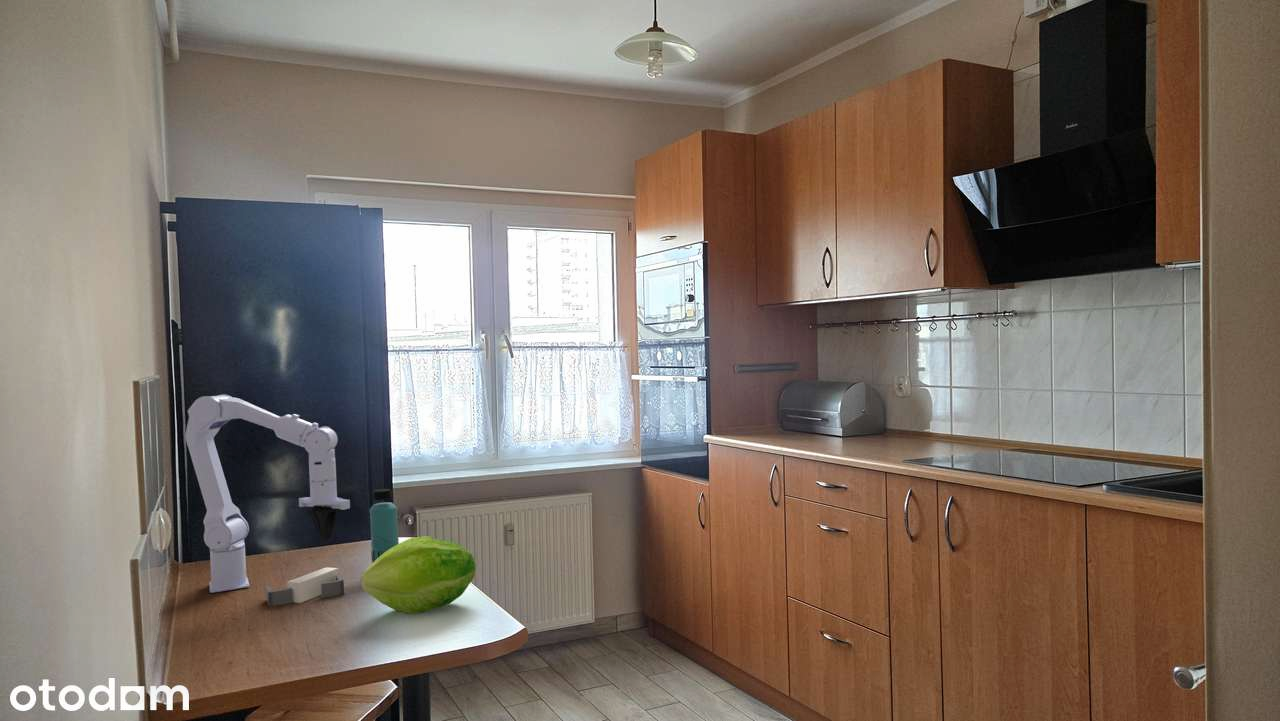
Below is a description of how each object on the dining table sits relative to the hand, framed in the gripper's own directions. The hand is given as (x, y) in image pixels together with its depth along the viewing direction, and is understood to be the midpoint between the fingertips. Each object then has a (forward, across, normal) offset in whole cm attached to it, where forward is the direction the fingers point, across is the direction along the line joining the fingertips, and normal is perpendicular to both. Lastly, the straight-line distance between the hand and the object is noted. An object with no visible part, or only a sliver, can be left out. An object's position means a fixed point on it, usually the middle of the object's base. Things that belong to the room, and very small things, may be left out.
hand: (325, 539), depth 192 cm
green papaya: (+10, +36, -8) cm, 39 cm away
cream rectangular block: (+10, +5, -8) cm, 14 cm away
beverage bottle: (+10, +8, +10) cm, 16 cm away
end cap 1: (+10, +3, -15) cm, 18 cm away
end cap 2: (+10, +8, -7) cm, 14 cm away
